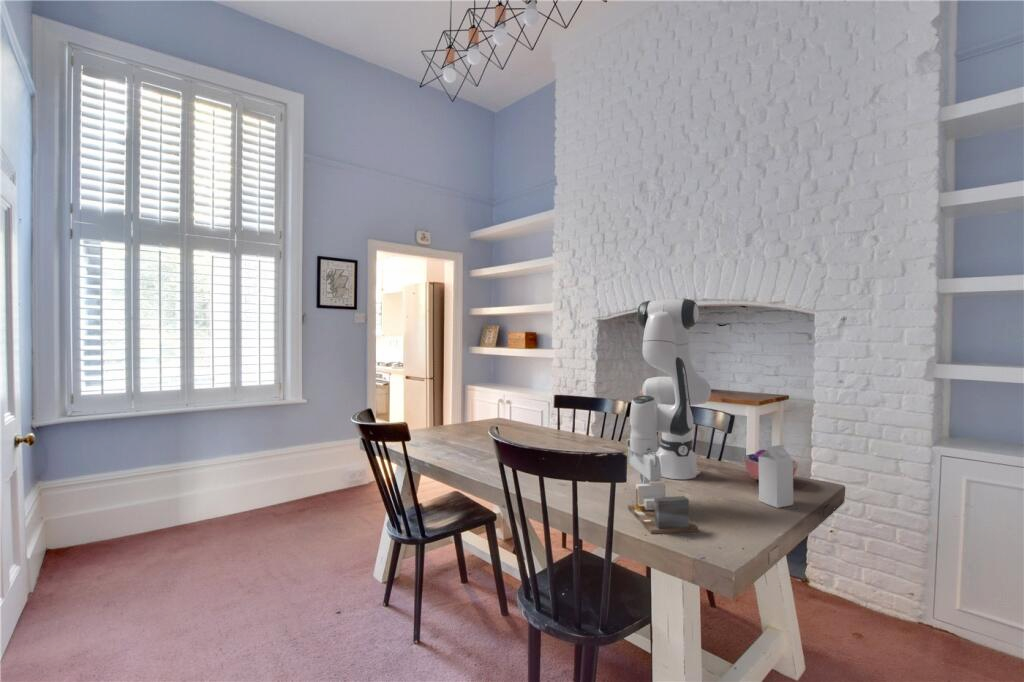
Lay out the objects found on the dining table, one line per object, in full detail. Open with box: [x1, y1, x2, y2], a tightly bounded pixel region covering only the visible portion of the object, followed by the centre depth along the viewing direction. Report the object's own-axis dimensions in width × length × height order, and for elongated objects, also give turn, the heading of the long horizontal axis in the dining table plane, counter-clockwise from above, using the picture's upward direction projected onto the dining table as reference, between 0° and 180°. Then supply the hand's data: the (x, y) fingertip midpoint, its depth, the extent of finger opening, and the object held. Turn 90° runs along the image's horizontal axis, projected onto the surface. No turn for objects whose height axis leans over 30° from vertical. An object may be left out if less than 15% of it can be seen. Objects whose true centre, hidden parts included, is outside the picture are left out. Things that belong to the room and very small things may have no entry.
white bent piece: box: [635, 482, 666, 510], centre depth 152 cm, size 8×9×7 cm
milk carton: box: [758, 444, 794, 509], centre depth 158 cm, size 7×7×19 cm
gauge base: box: [627, 495, 699, 534], centre depth 147 cm, size 20×14×9 cm
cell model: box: [741, 449, 799, 481], centre depth 180 cm, size 17×20×11 cm
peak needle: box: [635, 488, 644, 510], centre depth 151 cm, size 1×3×6 cm, turn 95°
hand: (644, 486), depth 160 cm, fingers closed
